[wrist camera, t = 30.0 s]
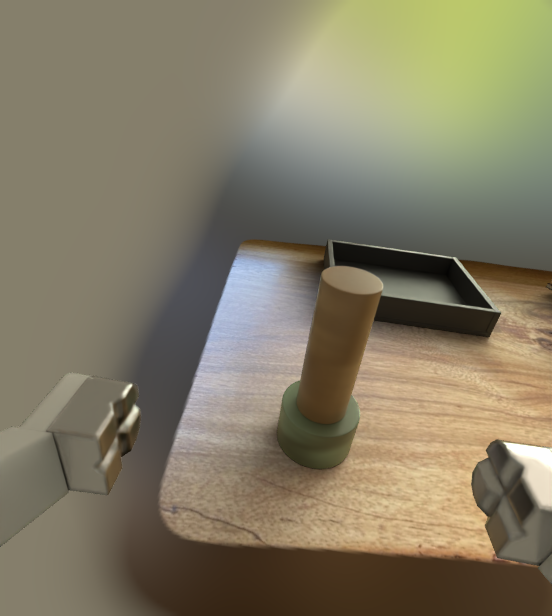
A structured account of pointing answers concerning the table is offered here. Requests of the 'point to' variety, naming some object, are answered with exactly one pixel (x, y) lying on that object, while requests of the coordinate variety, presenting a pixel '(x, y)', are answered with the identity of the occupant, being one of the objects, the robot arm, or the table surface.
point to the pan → (420, 288)
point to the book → (549, 285)
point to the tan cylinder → (330, 370)
